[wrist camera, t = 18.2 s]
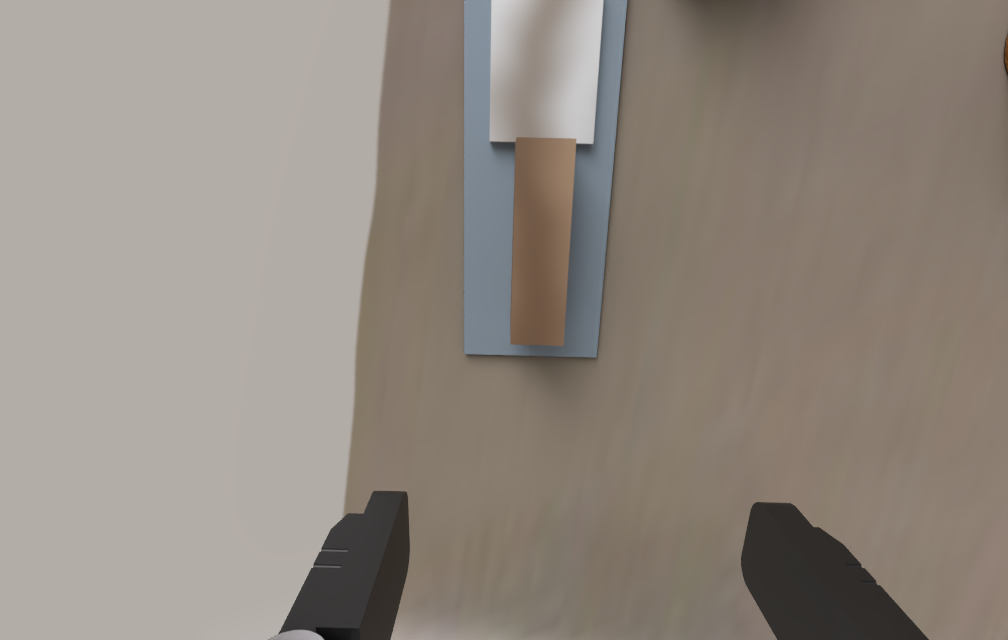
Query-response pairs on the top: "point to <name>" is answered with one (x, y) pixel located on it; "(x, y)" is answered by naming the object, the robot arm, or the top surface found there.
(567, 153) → the turner
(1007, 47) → the disposable coffee cup
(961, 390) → the top surface
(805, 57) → the top surface
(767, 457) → the top surface
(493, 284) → the mat
